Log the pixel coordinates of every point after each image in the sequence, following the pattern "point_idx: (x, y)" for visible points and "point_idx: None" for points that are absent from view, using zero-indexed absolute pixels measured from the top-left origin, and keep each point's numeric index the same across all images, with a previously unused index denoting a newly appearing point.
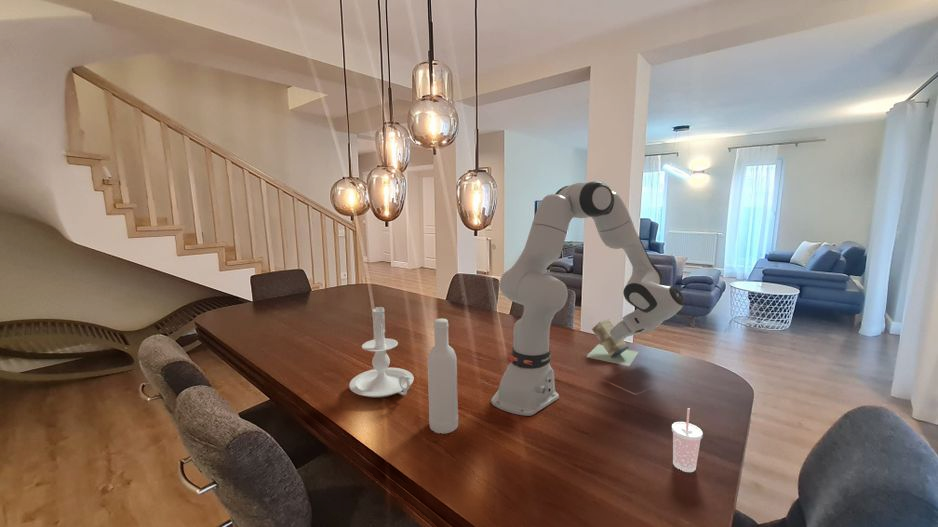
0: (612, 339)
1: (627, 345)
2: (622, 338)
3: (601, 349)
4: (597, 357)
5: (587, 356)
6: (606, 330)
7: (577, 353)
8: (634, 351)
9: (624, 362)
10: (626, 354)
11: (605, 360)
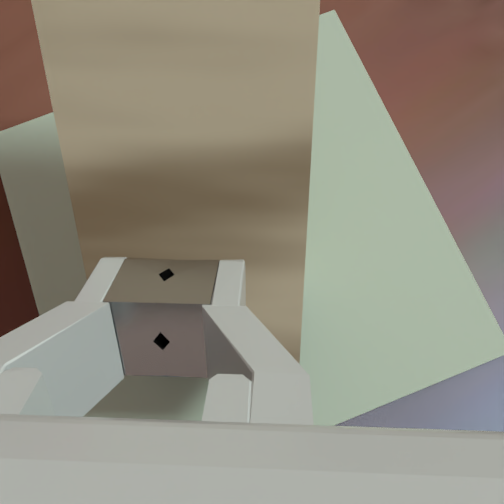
0: (81, 224)
1: (296, 357)
2: (126, 361)
3: None
4: (53, 202)
5: (6, 139)
6: (57, 34)
7: (27, 43)
8: (484, 315)
9: None
10: (342, 317)
11: (46, 289)
